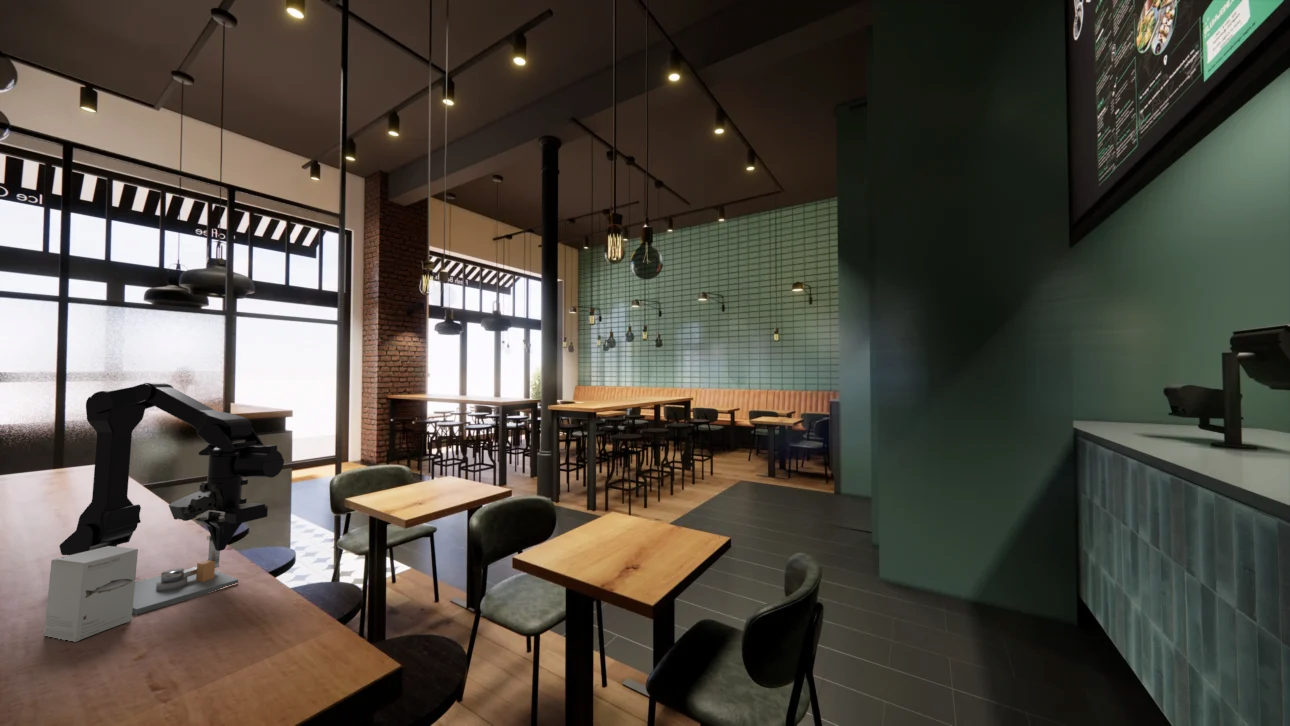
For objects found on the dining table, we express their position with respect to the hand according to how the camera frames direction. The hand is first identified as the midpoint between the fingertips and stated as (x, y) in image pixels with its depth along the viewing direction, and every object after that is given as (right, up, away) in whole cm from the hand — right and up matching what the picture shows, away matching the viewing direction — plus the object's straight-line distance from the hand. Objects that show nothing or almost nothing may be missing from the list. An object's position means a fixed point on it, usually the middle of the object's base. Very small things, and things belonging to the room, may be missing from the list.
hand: (220, 550), depth 99 cm
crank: (-4, -4, -2) cm, 6 cm away
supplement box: (-4, -6, -20) cm, 21 cm away
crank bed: (-5, -6, -5) cm, 9 cm away
